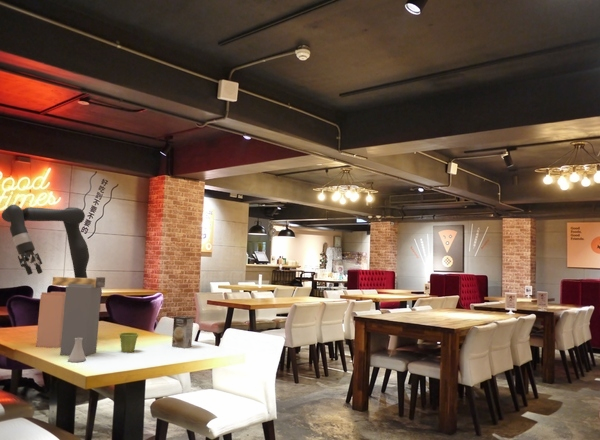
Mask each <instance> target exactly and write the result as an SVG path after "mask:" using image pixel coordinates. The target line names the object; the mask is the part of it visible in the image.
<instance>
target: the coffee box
mask: <svg viewBox="0 0 600 440" xmlns="http://www.w3.org/2000/svg"><path fill="white" fill-rule="evenodd" d="M172 326H173V327H172V340H171V341H172V342H171V347H175V348H182V349H187V348H191V347H192V343H193V328H194V317H193V316H184V315H177V316H173V325H172Z"/></svg>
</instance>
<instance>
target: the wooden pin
mask: <svg viewBox="0 0 600 440" xmlns="http://www.w3.org/2000/svg"><path fill="white" fill-rule="evenodd" d="M105 283H106V277H103V276H99V277H95V278H90V277H89V278H88V277H87V278H75V277H68V276H67V277H66V276H52V285H51V286H59V287H66V286H68V284H86V285H94V287H96V288H101V289H102V288H105V286H106V284H105Z"/></svg>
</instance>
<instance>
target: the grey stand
mask: <svg viewBox="0 0 600 440" xmlns="http://www.w3.org/2000/svg"><path fill="white" fill-rule="evenodd" d="M65 292H66V294H65V305H64V316H63V328H62V339H61V347H60V353H59V356H69V357H70V355H71V353H72V350H73V348H74V345H75V338H83V339H82V348H83V351H84V355H85V357H87V356H89V355H90V356H91V355H93V354H96V353H97V348H98V346H97V345H98V332H99V322H100V321H99V320H100V308H101V298H102V288H96V287H94V285H86V284H68V286H65Z"/></svg>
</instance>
